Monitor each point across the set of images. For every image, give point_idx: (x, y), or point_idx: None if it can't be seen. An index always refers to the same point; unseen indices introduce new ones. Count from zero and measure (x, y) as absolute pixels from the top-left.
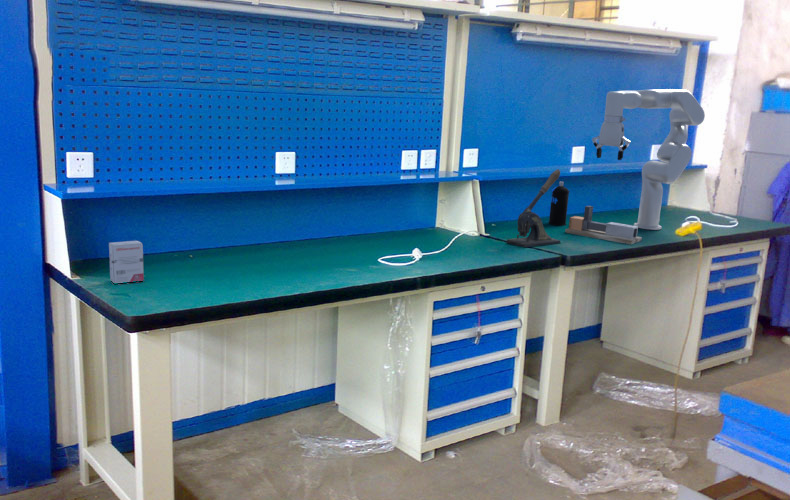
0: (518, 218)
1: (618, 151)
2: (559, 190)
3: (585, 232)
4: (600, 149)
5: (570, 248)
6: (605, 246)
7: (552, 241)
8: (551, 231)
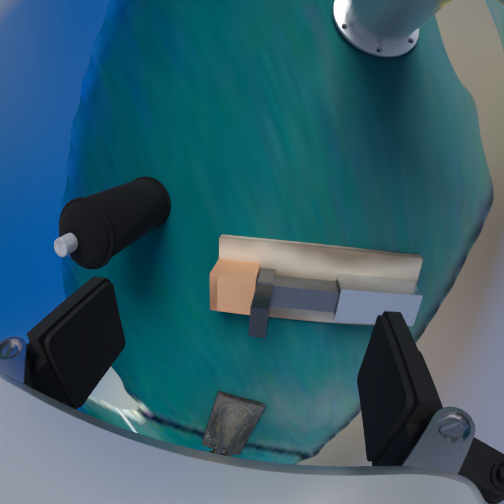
0: None
1: (369, 459)
2: (92, 266)
3: (277, 313)
4: (65, 378)
5: (297, 423)
6: (351, 376)
7: (257, 421)
8: (191, 315)
